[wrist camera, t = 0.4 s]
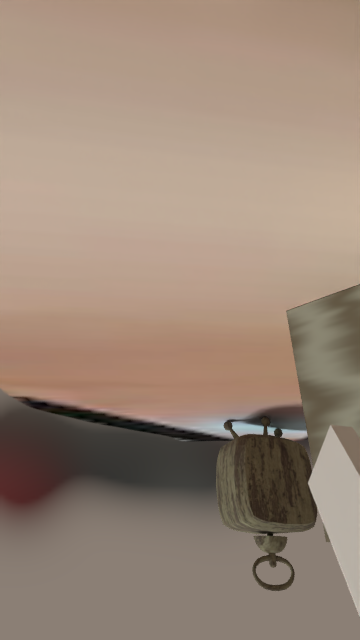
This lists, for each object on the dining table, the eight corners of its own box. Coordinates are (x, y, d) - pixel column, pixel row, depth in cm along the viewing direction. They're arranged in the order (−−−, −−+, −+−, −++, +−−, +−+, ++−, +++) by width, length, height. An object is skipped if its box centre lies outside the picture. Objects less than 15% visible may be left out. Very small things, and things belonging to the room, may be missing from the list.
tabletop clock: (214, 422, 66) (218, 587, 51) (235, 406, 58) (246, 593, 44) (281, 431, 69) (301, 588, 55) (308, 418, 62) (339, 595, 48)
